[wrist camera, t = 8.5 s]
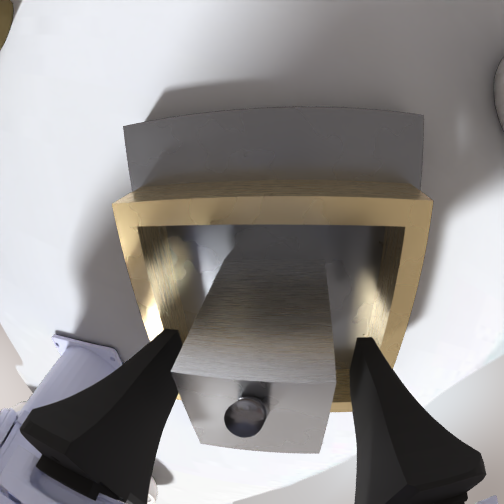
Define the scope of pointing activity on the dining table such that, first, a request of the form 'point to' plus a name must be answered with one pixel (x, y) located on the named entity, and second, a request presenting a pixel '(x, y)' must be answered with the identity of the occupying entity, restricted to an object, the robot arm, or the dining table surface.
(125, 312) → the dining table surface
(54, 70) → the dining table surface
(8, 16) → the pepper shaker
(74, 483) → the robot arm
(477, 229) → the dining table surface
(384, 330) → the wooden cabinet body
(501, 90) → the cupcake
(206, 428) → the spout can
